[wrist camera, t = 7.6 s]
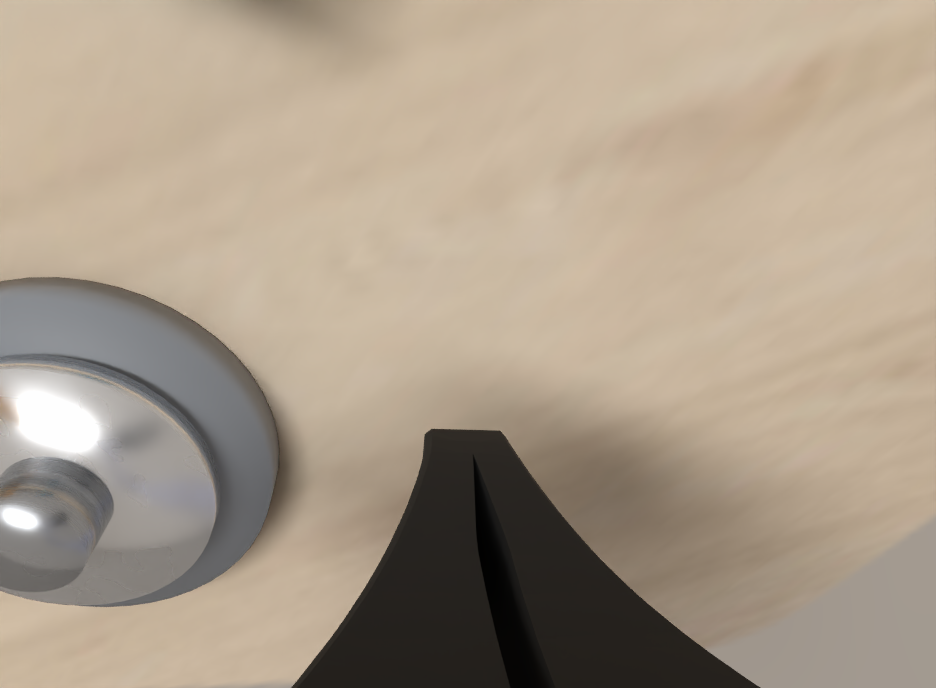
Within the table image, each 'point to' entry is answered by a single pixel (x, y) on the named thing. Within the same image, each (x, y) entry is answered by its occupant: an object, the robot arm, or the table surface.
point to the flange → (96, 484)
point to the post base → (161, 393)
